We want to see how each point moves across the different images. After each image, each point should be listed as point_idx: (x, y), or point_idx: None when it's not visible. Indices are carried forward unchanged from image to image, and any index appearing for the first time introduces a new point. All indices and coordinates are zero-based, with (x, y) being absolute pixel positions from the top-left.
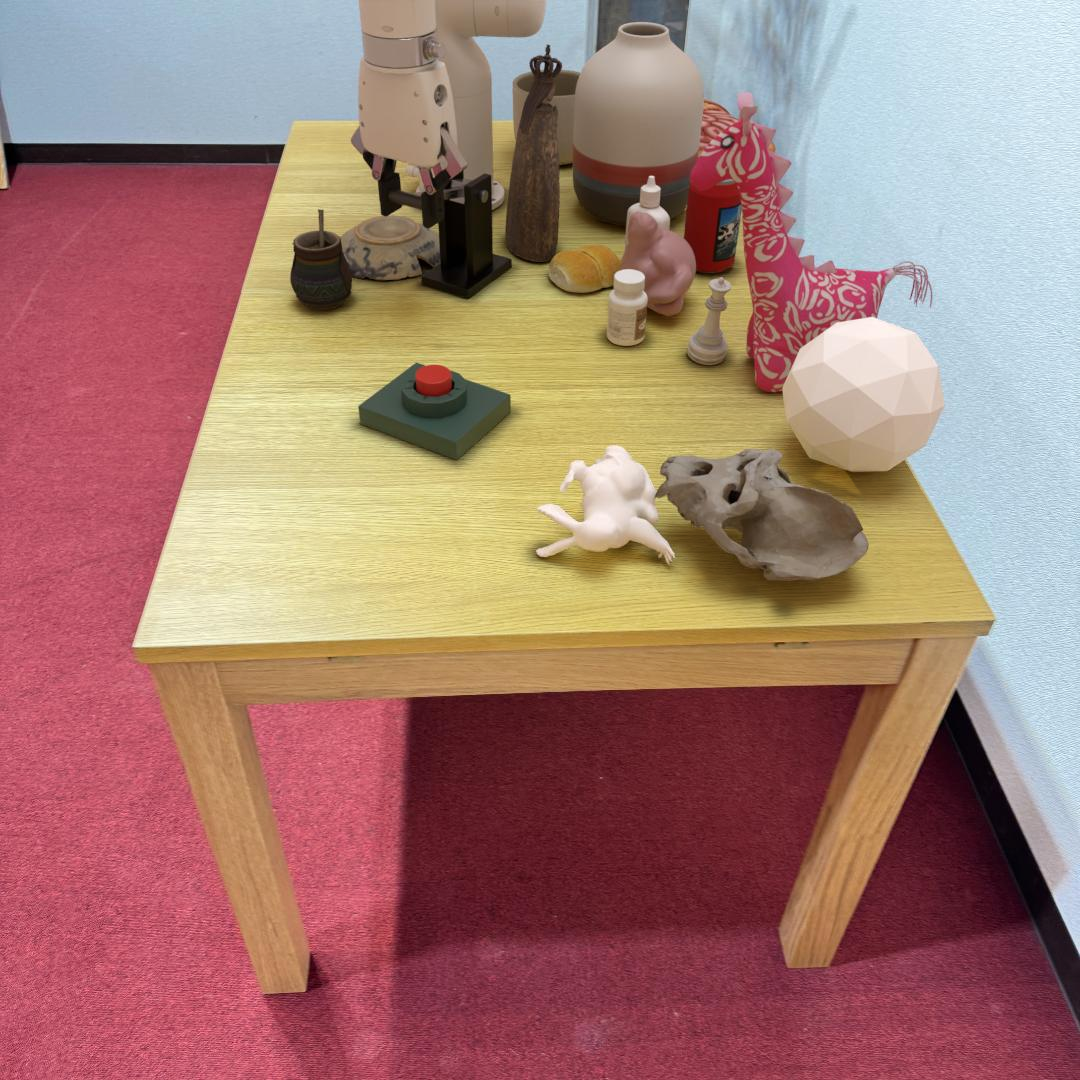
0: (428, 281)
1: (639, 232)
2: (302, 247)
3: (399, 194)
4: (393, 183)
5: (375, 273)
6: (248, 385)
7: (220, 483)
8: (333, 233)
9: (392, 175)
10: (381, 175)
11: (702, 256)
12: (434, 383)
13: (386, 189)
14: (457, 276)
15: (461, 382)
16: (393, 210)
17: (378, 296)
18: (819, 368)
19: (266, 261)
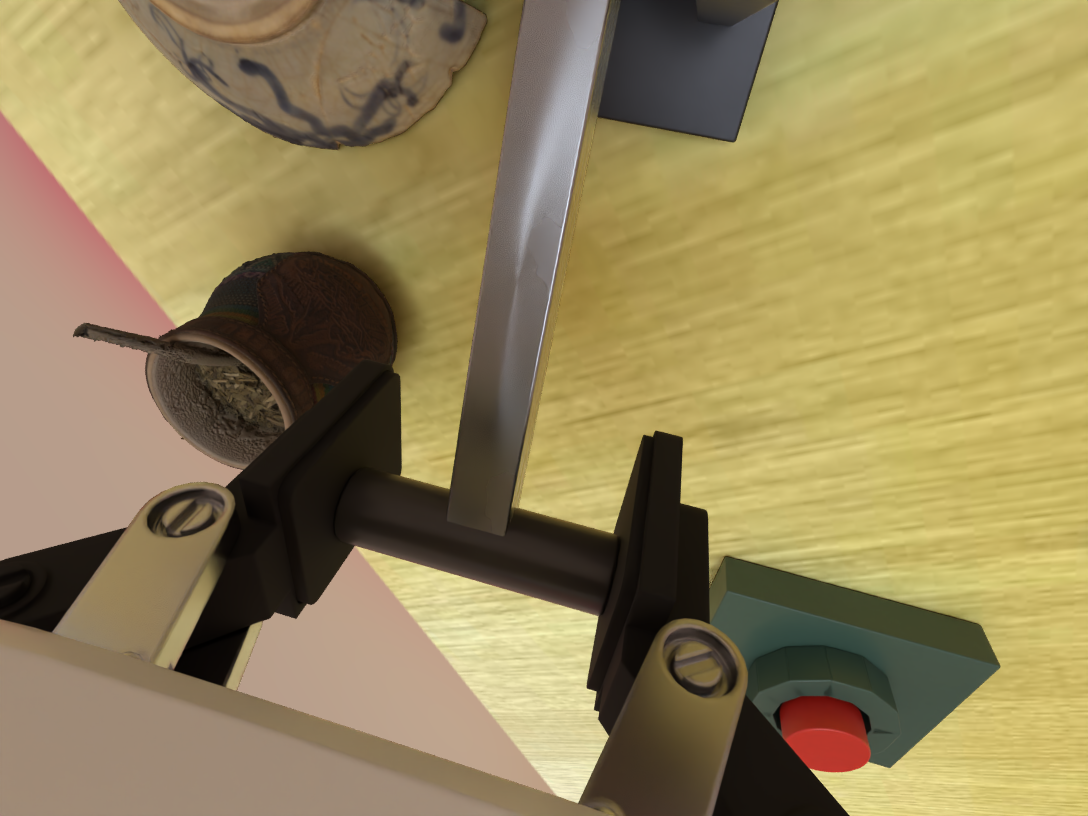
0: None
1: None
2: (230, 465)
3: (416, 561)
4: (318, 527)
5: (360, 133)
6: (437, 601)
7: (552, 753)
8: (217, 346)
9: (275, 551)
10: (254, 630)
11: None
12: (838, 771)
13: (331, 567)
14: (653, 34)
15: (885, 715)
16: (395, 436)
17: (442, 233)
18: None
19: (51, 151)
